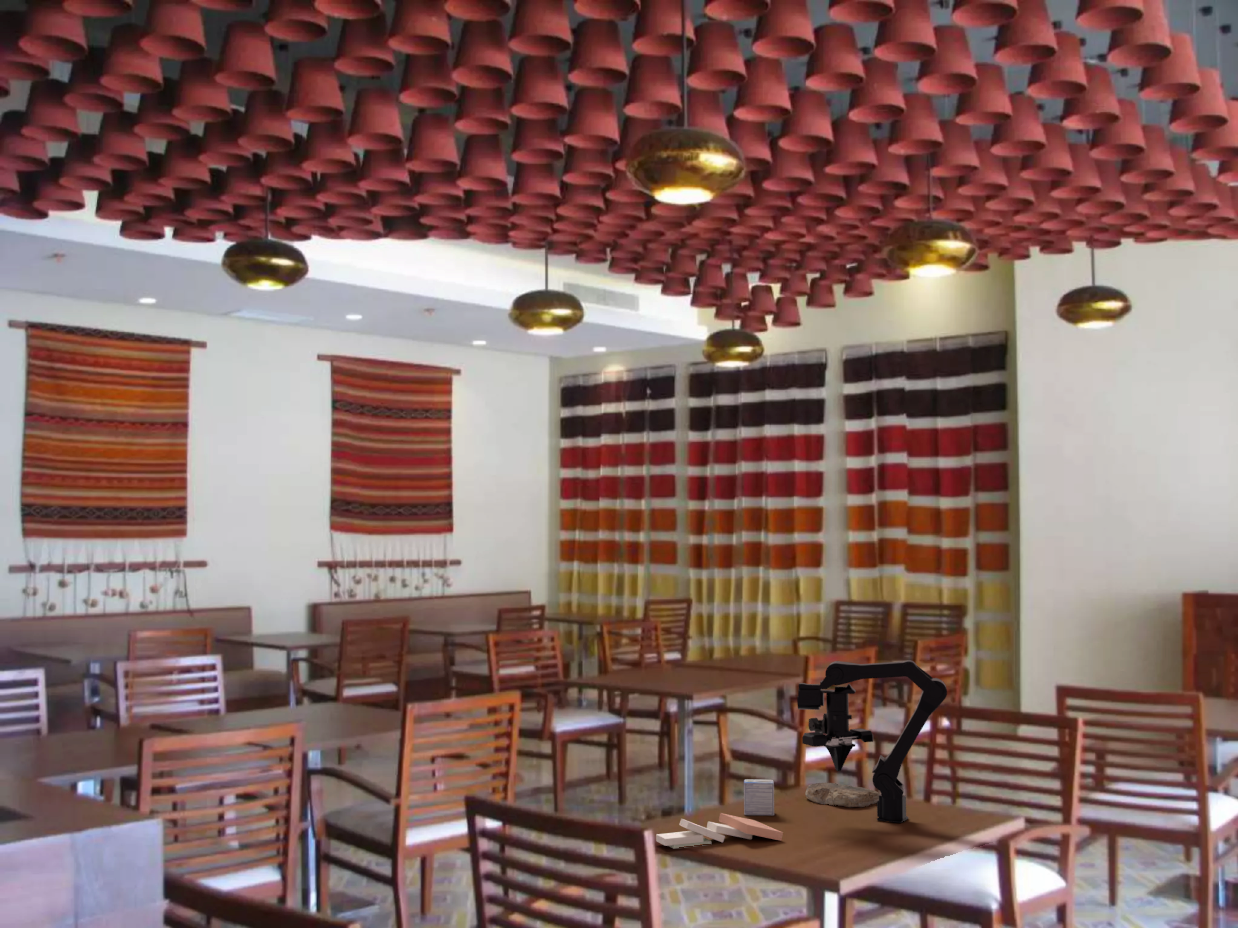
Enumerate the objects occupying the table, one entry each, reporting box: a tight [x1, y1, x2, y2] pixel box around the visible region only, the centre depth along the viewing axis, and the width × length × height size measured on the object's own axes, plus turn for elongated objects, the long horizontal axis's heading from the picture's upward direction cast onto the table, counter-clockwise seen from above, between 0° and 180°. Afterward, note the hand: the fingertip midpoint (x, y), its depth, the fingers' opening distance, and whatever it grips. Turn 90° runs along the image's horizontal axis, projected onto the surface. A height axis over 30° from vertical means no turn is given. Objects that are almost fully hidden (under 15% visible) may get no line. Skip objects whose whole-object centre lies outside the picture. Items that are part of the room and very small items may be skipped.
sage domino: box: [668, 836, 712, 850], centre depth 298 cm, size 2×5×10 cm
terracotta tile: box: [718, 812, 784, 841], centre depth 306 cm, size 2×14×10 cm
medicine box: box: [743, 778, 775, 816], centre depth 331 cm, size 8×4×9 cm, turn 84°
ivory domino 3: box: [706, 821, 754, 840], centre depth 303 cm, size 2×5×10 cm
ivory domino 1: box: [655, 830, 704, 847], centre depth 298 cm, size 2×5×10 cm
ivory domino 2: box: [678, 818, 726, 843], centre depth 300 cm, size 2×5×10 cm
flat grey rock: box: [804, 782, 881, 808], centre depth 346 cm, size 14×5×20 cm
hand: (838, 770), depth 326 cm, fingers closed
